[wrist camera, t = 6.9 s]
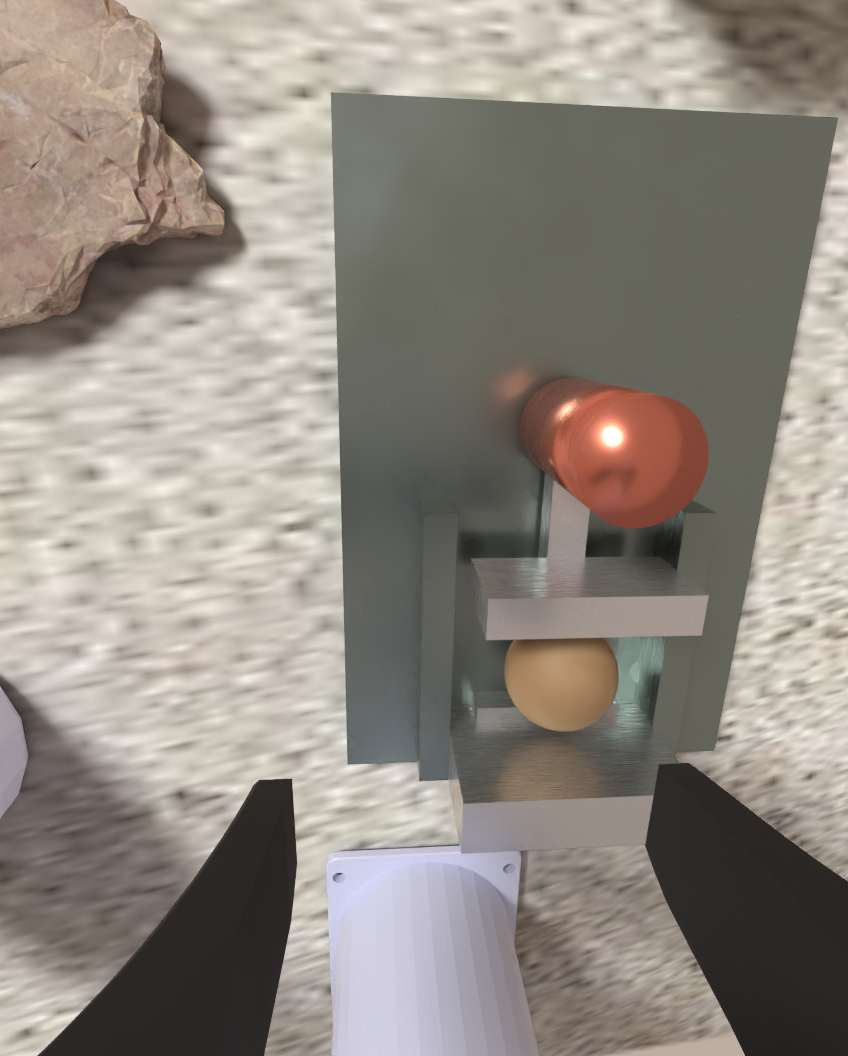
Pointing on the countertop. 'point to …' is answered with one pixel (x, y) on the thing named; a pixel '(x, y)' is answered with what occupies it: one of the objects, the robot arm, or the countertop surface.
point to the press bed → (507, 386)
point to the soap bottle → (10, 753)
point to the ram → (615, 496)
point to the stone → (84, 152)
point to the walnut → (561, 680)
